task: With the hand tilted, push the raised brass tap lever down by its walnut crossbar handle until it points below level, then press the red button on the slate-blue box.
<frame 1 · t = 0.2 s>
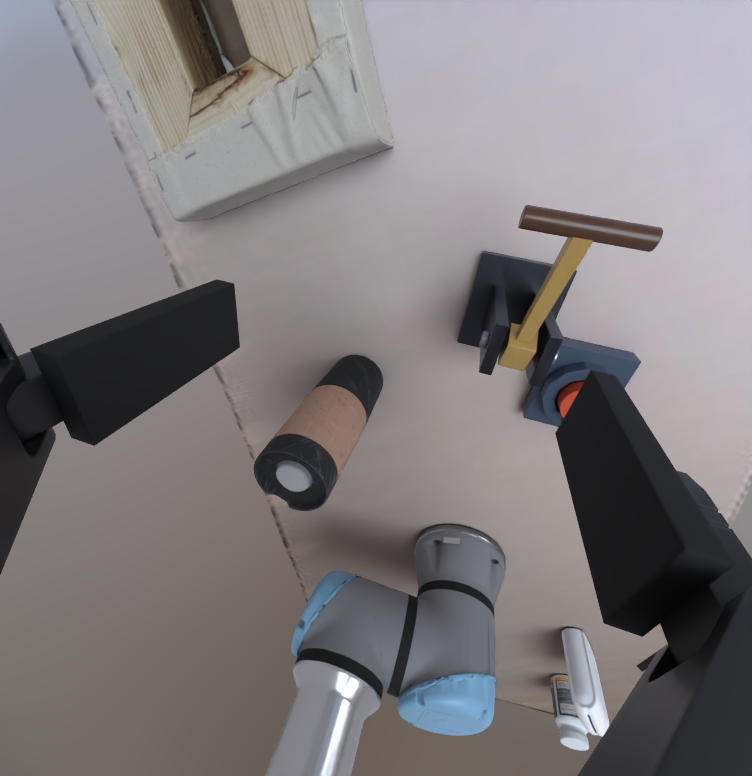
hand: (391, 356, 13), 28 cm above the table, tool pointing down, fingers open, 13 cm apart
travel mug: (359, 377, 48), on the table
photo printer: (577, 641, 64), on the table
button box: (573, 382, 40), on the table
tap lever: (542, 303, 24), point 13 cm above the table, hinge at 28.0°
tap bracket: (511, 306, 38), on the table
red button: (581, 403, 36), point 4 cm above the table, slide at 0.1 cm
pill bottle: (564, 679, 72), on the table
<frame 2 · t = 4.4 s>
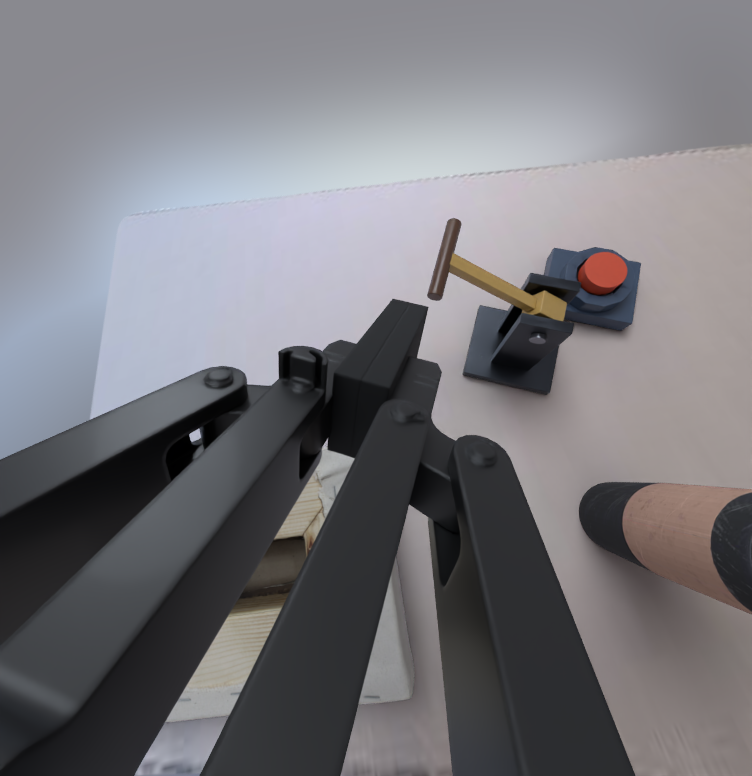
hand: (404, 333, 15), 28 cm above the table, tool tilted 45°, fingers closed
travel mug: (612, 515, 38), on the table
button box: (582, 293, 43), on the table
box: (263, 560, 40), on the table
tap lever: (500, 288, 30), point 13 cm above the table, hinge at 28.0°
tap bracket: (510, 350, 43), on the table
red button: (601, 273, 39), point 4 cm above the table, slide at 0.1 cm
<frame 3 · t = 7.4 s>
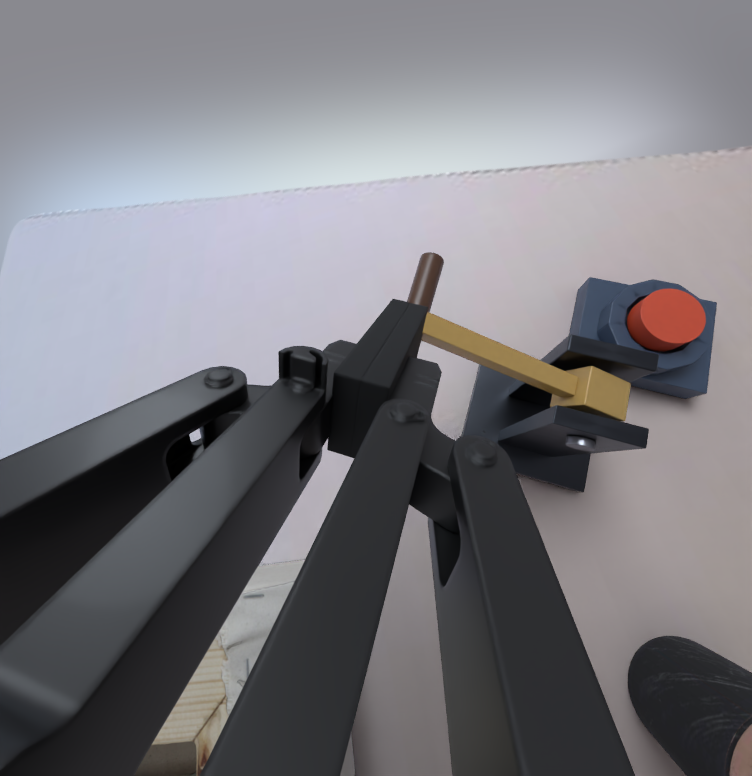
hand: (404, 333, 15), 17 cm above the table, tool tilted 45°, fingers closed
travel mug: (678, 689, 25), on the table
button box: (628, 341, 31), on the table
box: (160, 730, 27), on the table
tap lever: (513, 364, 18), point 13 cm above the table, hinge at 22.9°, touching gripper
tap bracket: (526, 422, 30), on the table
red button: (664, 320, 26), point 4 cm above the table, slide at 0.1 cm
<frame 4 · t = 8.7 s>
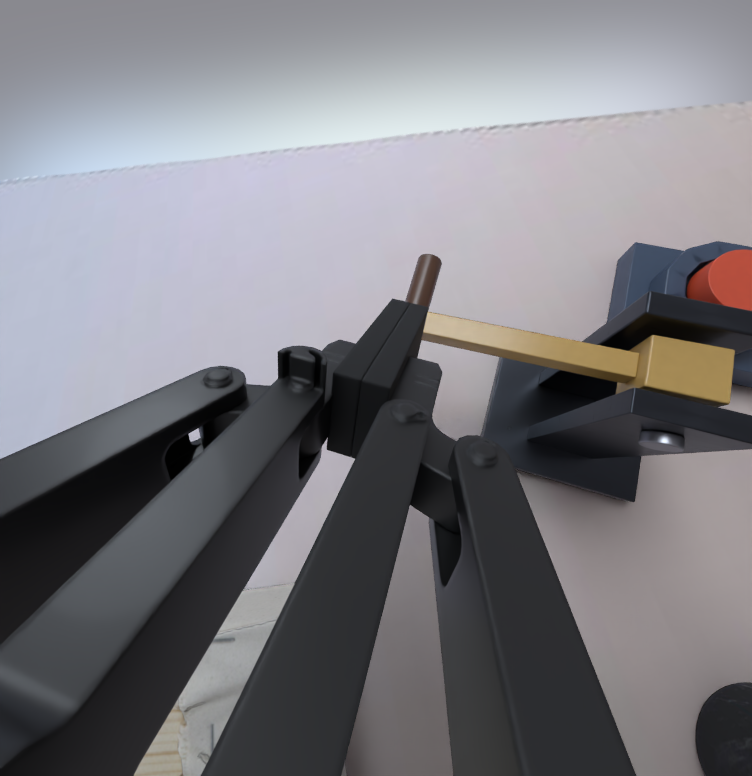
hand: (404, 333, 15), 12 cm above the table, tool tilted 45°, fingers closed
button box: (681, 320, 26), on the table
tap lever: (539, 349, 15), point 11 cm above the table, hinge at -4.3°, touching gripper
tap bracket: (559, 416, 25), on the table
red button: (736, 289, 21), point 4 cm above the table, slide at 0.1 cm
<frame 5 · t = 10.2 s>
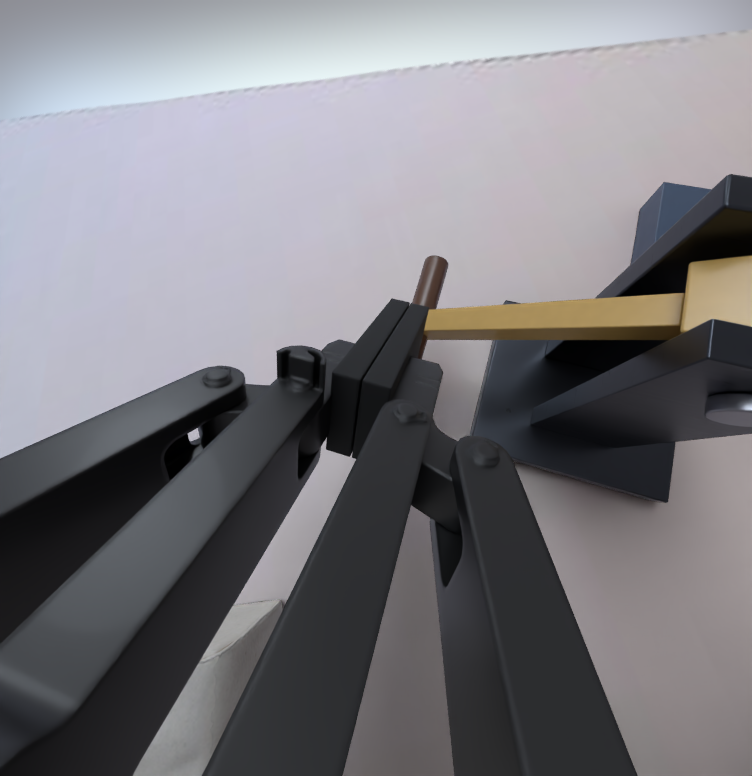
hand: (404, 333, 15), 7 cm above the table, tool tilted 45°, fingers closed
button box: (719, 279, 21), on the table
tap lever: (549, 321, 13), point 8 cm above the table, hinge at -33.2°, touching gripper
tap bracket: (570, 397, 20), on the table
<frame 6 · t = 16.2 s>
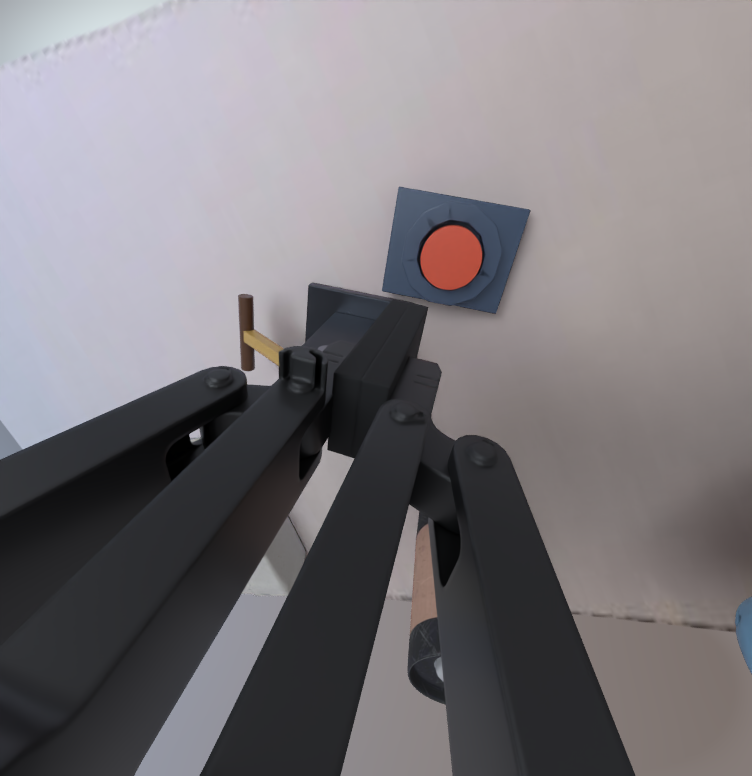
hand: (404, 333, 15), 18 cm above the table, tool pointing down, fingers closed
travel mug: (452, 482, 42), on the table
button box: (449, 250, 30), on the table
box: (190, 503, 52), on the table
tap lever: (284, 359, 28), point 8 cm above the table, hinge at -33.3°
tap bracket: (357, 336, 35), on the table
red button: (450, 257, 26), point 4 cm above the table, slide at 0.1 cm
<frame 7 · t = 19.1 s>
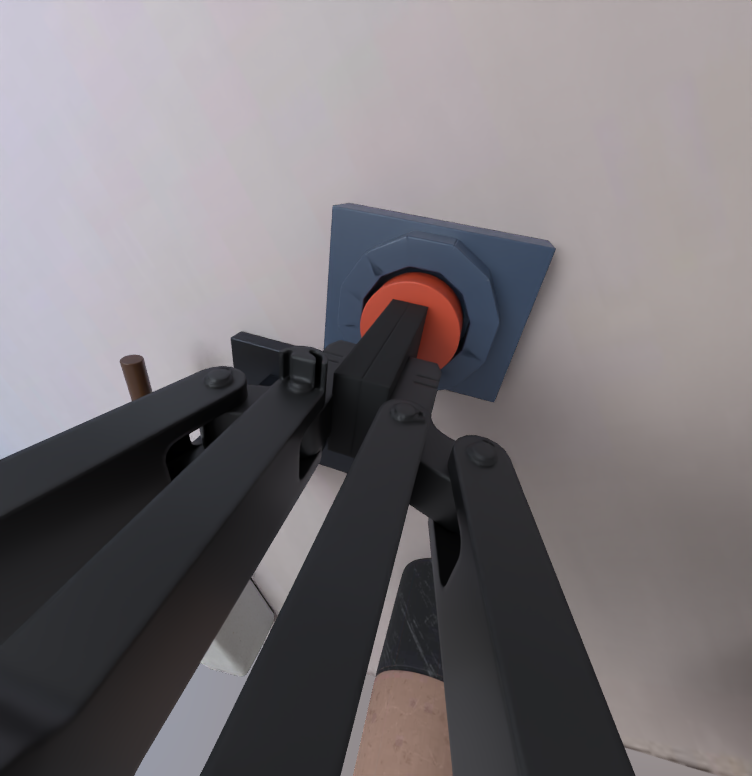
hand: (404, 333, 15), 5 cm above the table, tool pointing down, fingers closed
travel mug: (440, 581, 32), on the table
button box: (426, 299, 19), on the table
box: (150, 548, 47), on the table
tap lever: (171, 460, 19), point 8 cm above the table, hinge at -33.3°
tap bracket: (305, 402, 25), on the table
red button: (411, 326, 16), point 4 cm above the table, slide at -0.2 cm, touching gripper
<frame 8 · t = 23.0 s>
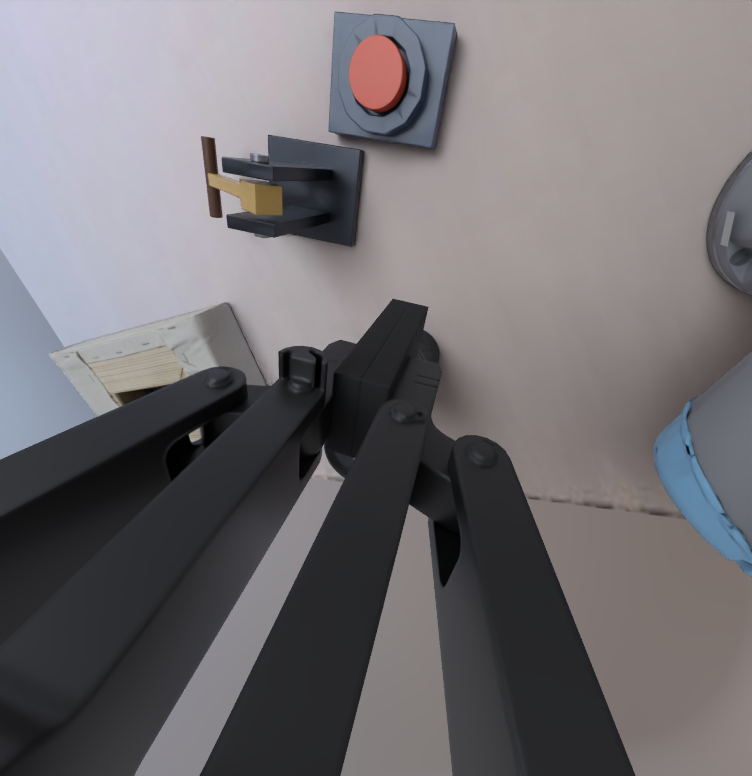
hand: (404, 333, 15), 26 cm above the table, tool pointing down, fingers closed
travel mug: (411, 352, 45), on the table
button box: (391, 88, 32), on the table
box: (189, 383, 59), on the table
tap lever: (236, 188, 32), point 8 cm above the table, hinge at -33.3°
tap bracket: (316, 192, 38), on the table
red button: (378, 76, 28), point 4 cm above the table, slide at 0.1 cm
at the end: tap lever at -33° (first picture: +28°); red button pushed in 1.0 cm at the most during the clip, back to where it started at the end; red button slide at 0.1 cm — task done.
